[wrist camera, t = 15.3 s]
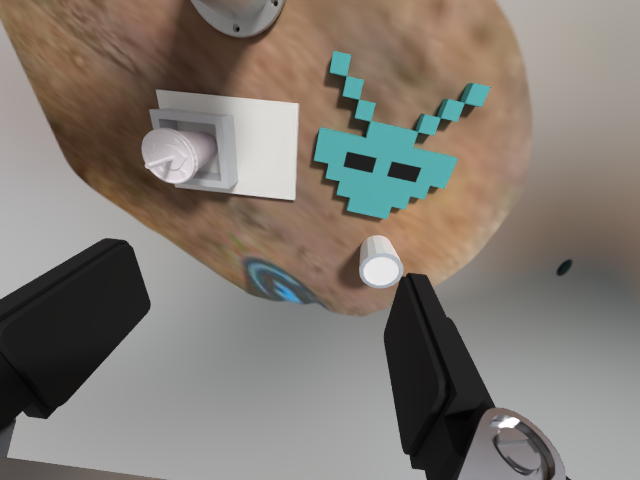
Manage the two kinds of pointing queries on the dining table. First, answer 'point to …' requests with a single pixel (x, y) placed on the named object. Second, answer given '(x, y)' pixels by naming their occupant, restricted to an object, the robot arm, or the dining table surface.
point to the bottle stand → (237, 141)
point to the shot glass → (379, 263)
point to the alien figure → (386, 152)
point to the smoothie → (177, 153)
